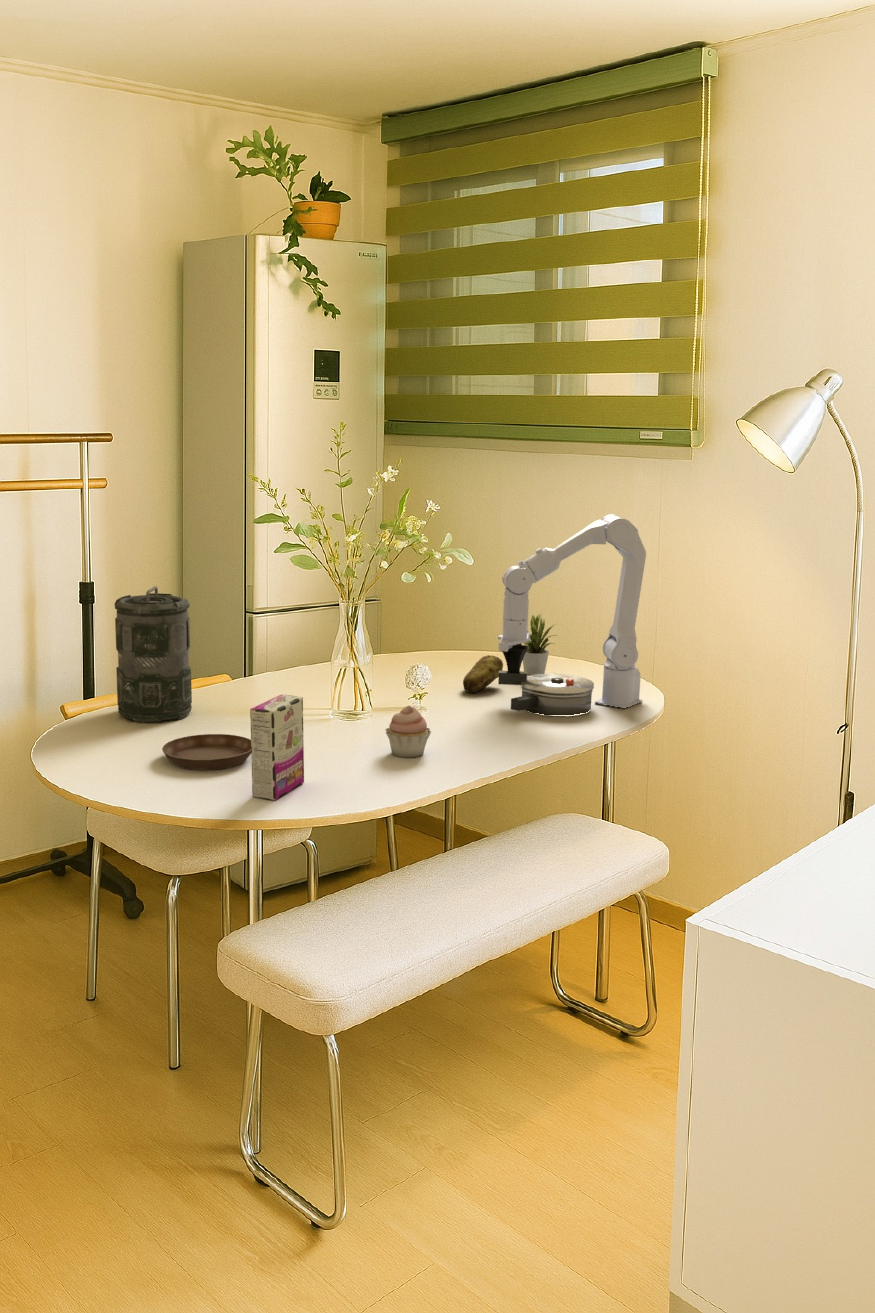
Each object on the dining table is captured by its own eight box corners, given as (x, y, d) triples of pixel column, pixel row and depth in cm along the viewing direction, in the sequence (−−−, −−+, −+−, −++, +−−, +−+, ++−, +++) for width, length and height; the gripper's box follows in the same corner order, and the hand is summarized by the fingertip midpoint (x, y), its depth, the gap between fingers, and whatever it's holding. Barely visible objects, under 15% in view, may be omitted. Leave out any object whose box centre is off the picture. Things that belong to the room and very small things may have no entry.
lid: (591, 678, 283) (592, 667, 282) (595, 695, 266) (596, 684, 266) (499, 674, 284) (499, 663, 284) (497, 691, 268) (497, 680, 267)
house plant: (498, 667, 316) (500, 606, 312) (549, 666, 318) (551, 606, 315) (511, 680, 302) (513, 616, 299) (564, 679, 305) (567, 616, 301)
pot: (552, 695, 288) (553, 675, 287) (605, 709, 276) (607, 688, 275) (488, 710, 272) (488, 689, 271) (541, 725, 261) (542, 703, 260)
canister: (184, 724, 255) (181, 595, 249) (109, 723, 255) (105, 593, 249) (198, 705, 270) (195, 583, 264) (128, 704, 270) (124, 581, 264)
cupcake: (380, 759, 234) (381, 709, 232) (388, 745, 243) (389, 698, 241) (427, 762, 233) (428, 712, 231) (434, 748, 242) (435, 700, 240)
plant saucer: (144, 759, 231) (143, 744, 230) (218, 742, 244) (218, 727, 243) (199, 781, 219) (199, 765, 219) (274, 761, 232) (274, 746, 232)
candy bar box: (280, 779, 220) (280, 693, 217) (304, 783, 219) (304, 696, 215) (249, 797, 210) (248, 707, 207) (274, 801, 209) (274, 711, 205)
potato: (449, 689, 291) (450, 657, 290) (491, 682, 299) (492, 651, 297) (470, 696, 285) (471, 663, 283) (512, 689, 292) (513, 657, 291)
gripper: (511, 612, 283) (509, 668, 286) (487, 622, 270) (485, 680, 273) (539, 615, 280) (536, 671, 283) (516, 625, 267) (513, 684, 270)
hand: (513, 676), depth 278 cm, fingers closed, pressing on lid
